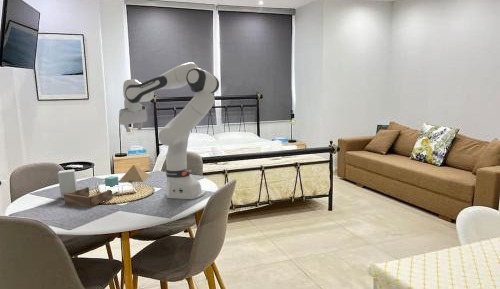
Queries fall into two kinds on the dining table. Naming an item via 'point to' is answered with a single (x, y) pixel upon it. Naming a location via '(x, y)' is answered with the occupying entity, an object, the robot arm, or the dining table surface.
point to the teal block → (111, 181)
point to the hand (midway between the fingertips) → (134, 131)
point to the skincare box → (67, 181)
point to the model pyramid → (134, 175)
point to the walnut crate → (81, 197)
